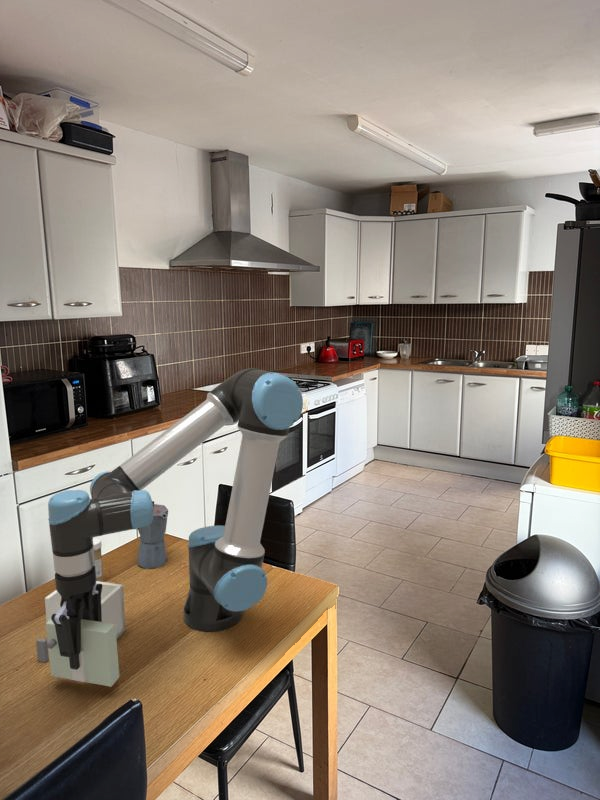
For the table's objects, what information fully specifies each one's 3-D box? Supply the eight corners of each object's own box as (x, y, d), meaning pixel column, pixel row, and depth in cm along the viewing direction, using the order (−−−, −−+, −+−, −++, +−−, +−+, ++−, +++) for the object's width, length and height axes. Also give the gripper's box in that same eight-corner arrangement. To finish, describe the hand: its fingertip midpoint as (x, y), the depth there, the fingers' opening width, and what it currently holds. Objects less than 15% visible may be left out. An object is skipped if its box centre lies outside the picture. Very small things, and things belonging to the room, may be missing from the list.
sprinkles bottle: (104, 581, 159) (102, 536, 157) (102, 589, 155) (100, 543, 153) (87, 582, 158) (85, 538, 156) (85, 590, 154) (82, 545, 152)
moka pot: (157, 575, 163) (154, 510, 160) (121, 562, 171) (118, 500, 168) (180, 562, 171) (178, 500, 167) (145, 550, 179) (142, 491, 176)
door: (119, 676, 114) (115, 624, 112) (107, 690, 110) (102, 636, 108) (60, 666, 118) (55, 615, 116) (47, 679, 114) (41, 626, 112)
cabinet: (125, 630, 136) (123, 584, 134) (86, 670, 121) (83, 619, 119) (75, 622, 139) (72, 577, 137) (32, 659, 124) (27, 610, 122)
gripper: (83, 548, 119) (92, 647, 123) (30, 586, 103) (42, 697, 108) (114, 552, 117) (122, 652, 121) (64, 591, 102) (76, 704, 106)
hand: (85, 673), depth 115 cm, fingers closed on door, 3 cm apart
